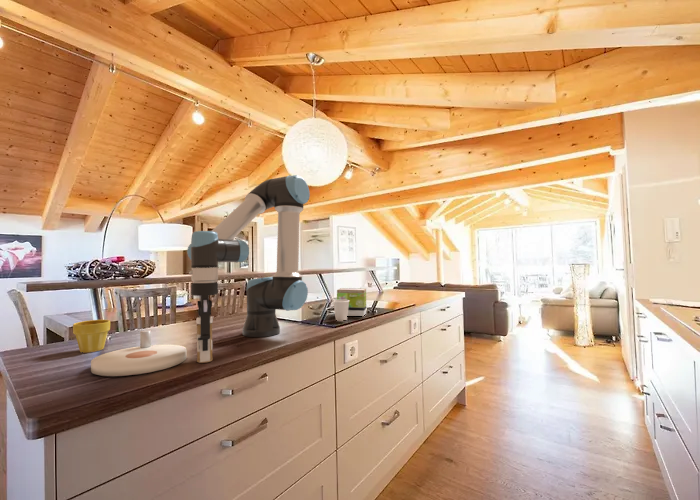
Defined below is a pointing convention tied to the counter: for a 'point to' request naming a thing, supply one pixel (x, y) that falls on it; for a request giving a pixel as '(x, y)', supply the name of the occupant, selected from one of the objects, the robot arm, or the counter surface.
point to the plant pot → (91, 334)
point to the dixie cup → (341, 309)
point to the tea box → (353, 300)
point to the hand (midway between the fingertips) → (204, 358)
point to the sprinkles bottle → (199, 337)
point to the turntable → (138, 358)
